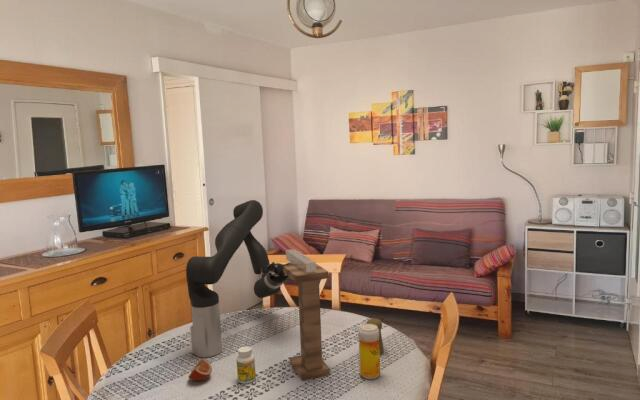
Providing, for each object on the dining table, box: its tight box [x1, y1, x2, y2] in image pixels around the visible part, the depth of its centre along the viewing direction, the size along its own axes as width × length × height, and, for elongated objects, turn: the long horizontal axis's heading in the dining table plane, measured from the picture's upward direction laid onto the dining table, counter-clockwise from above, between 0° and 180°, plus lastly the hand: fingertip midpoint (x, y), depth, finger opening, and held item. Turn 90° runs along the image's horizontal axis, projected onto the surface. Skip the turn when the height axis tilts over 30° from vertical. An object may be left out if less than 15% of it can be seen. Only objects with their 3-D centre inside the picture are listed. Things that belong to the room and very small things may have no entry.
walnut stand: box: [283, 263, 331, 382], centre depth 145 cm, size 13×10×32 cm
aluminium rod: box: [285, 248, 317, 274], centre depth 147 cm, size 20×3×3 cm, turn 21°
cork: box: [365, 318, 385, 356], centre depth 156 cm, size 6×6×11 cm
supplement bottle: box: [235, 346, 257, 385], centre depth 141 cm, size 5×5×10 cm
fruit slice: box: [188, 357, 213, 382], centre depth 143 cm, size 8×7×5 cm
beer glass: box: [358, 323, 381, 380], centre depth 140 cm, size 6×6×15 cm
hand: (286, 263), depth 162 cm, fingers open, 8 cm apart
